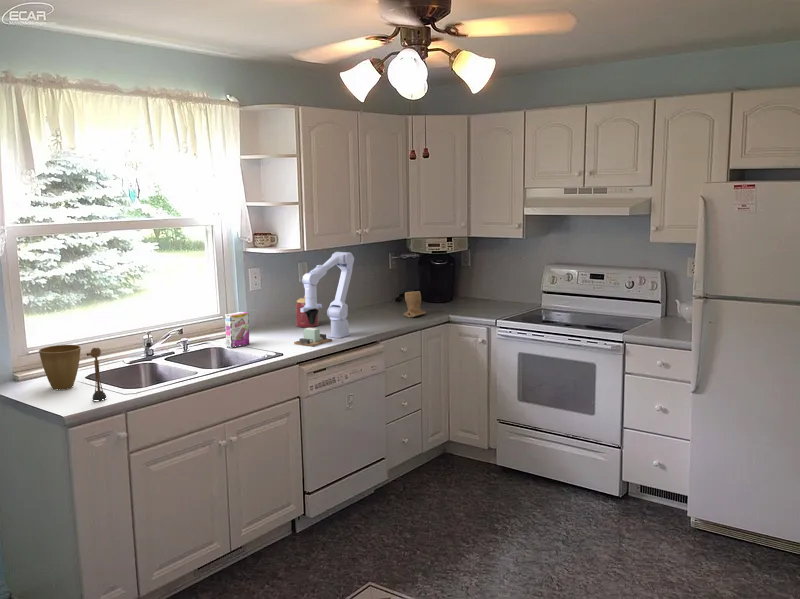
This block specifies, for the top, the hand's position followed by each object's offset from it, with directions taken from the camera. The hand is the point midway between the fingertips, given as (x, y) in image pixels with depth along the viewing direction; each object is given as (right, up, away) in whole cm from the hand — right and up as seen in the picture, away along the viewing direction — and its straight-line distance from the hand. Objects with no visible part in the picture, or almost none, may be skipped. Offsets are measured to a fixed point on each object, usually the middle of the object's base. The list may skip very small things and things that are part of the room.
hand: (311, 324), depth 357 cm
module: (0, -8, +1) cm, 8 cm away
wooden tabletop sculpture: (-68, -25, -91) cm, 116 cm away
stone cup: (+52, +2, +71) cm, 88 cm away
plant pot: (-89, -23, -73) cm, 118 cm away
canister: (-8, -3, +46) cm, 46 cm away
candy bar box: (-36, -11, -3) cm, 38 cm away
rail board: (0, -9, +2) cm, 9 cm away
